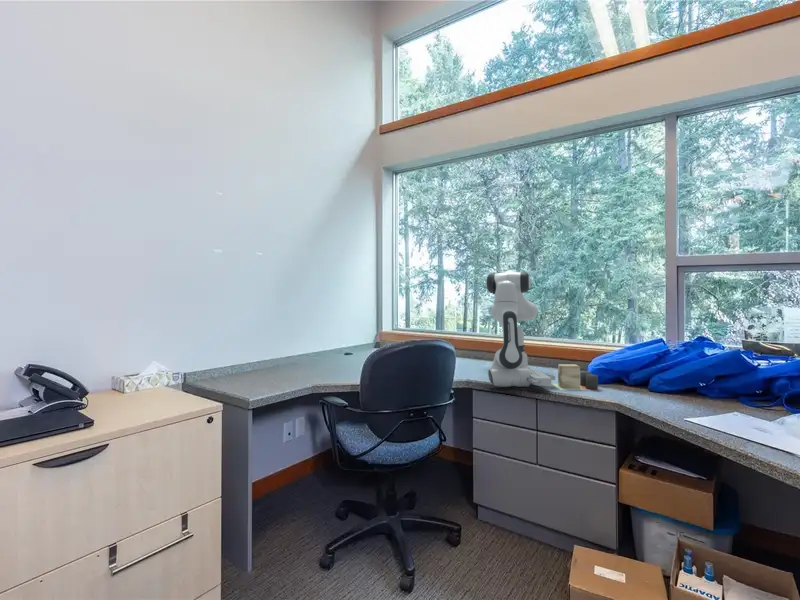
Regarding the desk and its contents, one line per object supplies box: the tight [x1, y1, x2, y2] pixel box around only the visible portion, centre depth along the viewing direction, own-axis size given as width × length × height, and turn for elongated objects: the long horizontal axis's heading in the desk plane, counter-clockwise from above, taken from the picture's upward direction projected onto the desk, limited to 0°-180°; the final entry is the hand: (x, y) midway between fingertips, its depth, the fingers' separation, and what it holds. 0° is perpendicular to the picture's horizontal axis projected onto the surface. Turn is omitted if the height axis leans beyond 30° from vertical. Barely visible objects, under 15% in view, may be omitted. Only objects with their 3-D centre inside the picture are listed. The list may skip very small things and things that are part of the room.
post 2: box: [586, 373, 599, 391], centre depth 181 cm, size 5×5×6 cm
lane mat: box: [539, 383, 601, 391], centre depth 185 cm, size 12×25×1 cm, turn 88°
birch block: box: [557, 363, 581, 388], centre depth 184 cm, size 5×8×10 cm, turn 88°
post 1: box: [580, 371, 593, 387], centre depth 187 cm, size 5×5×6 cm
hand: (554, 377), depth 185 cm, fingers closed
